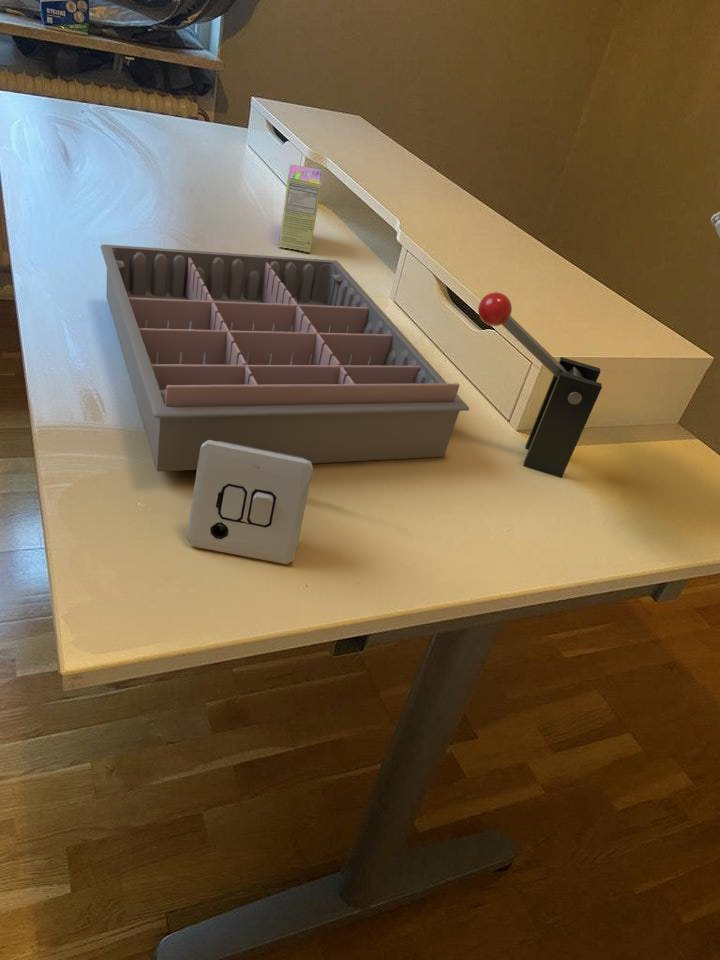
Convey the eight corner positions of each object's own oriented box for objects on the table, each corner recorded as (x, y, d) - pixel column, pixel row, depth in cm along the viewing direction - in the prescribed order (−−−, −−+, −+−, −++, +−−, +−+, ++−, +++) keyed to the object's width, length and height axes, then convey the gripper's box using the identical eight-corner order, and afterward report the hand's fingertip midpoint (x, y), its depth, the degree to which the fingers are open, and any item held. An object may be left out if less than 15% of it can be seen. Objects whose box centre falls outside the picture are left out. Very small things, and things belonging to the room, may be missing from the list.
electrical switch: (183, 547, 62) (195, 451, 58) (197, 515, 67) (209, 424, 62) (293, 568, 63) (312, 475, 59) (299, 535, 68) (318, 446, 63)
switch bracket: (485, 476, 81) (523, 374, 74) (492, 434, 90) (527, 338, 82) (591, 509, 80) (640, 408, 73) (589, 463, 89) (633, 369, 82)
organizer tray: (327, 312, 109) (340, 246, 104) (450, 471, 81) (476, 391, 75) (99, 303, 96) (100, 227, 91) (149, 489, 68) (154, 395, 62)
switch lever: (469, 314, 76) (493, 291, 74) (473, 304, 79) (496, 281, 77) (571, 411, 79) (596, 391, 77) (571, 398, 81) (595, 378, 80)
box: (280, 229, 136) (290, 163, 130) (311, 235, 137) (322, 169, 130) (277, 248, 128) (287, 177, 121) (309, 254, 129) (321, 184, 122)
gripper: (948, 206, 54) (749, 294, 60) (859, 161, 71) (710, 233, 77) (926, 125, 52) (721, 225, 58) (839, 98, 69) (688, 178, 75)
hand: (715, 229), depth 68 cm, fingers closed
